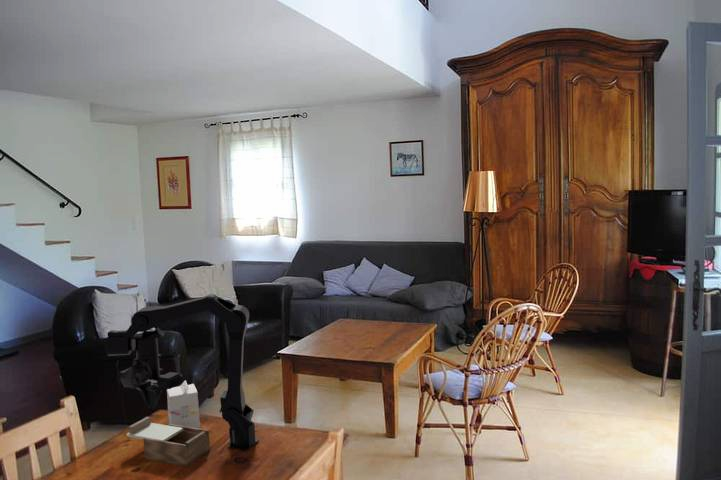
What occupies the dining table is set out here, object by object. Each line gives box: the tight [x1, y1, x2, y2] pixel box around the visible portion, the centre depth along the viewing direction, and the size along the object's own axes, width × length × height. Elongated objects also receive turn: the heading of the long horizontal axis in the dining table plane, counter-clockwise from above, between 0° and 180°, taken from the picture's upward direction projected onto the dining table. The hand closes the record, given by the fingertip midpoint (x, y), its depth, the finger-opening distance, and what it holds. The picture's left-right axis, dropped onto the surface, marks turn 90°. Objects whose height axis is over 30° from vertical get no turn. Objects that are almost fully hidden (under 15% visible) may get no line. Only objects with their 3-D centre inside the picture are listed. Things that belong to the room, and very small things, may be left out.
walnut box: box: [142, 423, 211, 468], centre depth 161 cm, size 14×10×6 cm
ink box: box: [166, 380, 201, 429], centre depth 179 cm, size 9×8×13 cm
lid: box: [126, 416, 183, 441], centre depth 163 cm, size 13×8×3 cm, turn 67°
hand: (151, 407), depth 163 cm, fingers closed
